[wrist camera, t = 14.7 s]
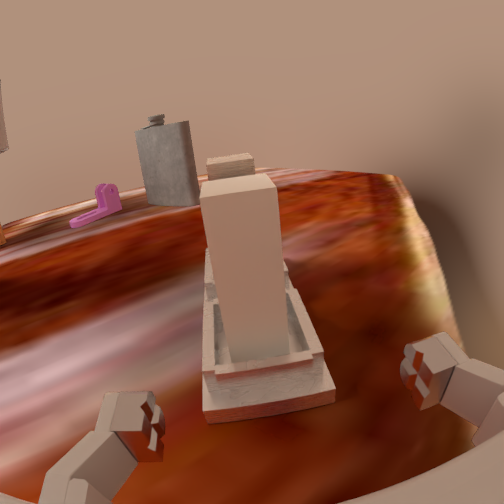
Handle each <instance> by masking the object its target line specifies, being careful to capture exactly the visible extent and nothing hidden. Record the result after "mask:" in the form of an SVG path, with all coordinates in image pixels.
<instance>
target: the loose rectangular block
mask: <svg viewBox="0 0 504 504" xmlns="http://www.w3.org/2000/svg"><path fill="white" fill-rule="evenodd" d="M199 199H200V205H201V211H202V217H203V222H204V228H205V233H206V239H207V244H208V250H209V255H210V260H211V266H212V271H213V276H214V281H215V286H216V291H217V296H218V301H219V306H220V311H221V316H222V321H223V325H224V330H225V335H226V340H227V344H228V349H229V353H230V358H231V362H232V363H237V362H244V361H250V360H257V359H263V358H269V357H275V356H280V355H286V354H290V350H289V334H288V319H287V305H286V291H285V278H284V265H283V252H282V241H281V229H280V218H279V207H278V196H277V187H276V186H275V184H274V183H273V182H272V181H271V179H270V178H269V177H268V176H267V175H266V173H262V174H255V175H247V176H240V177H233V178H226V179H219V180H213V181H206V182H202V187H201V192H200V197H199Z"/></svg>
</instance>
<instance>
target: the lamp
mask: <svg viewBox="0 0 504 504" xmlns="http://www.w3.org/2000/svg"><path fill="white" fill-rule="evenodd" d="M0 81H1V80H0ZM0 85H1V84H0ZM8 149H9V146H8V141H7V135H6V130H5V123H4V115H3V108H2V98H1V86H0V153H2V152H5V151H6V150H8ZM5 243H7V242H6V239H5V236H4V233H3V230H2V227H1V224H0V246H1V245H3V244H5Z"/></svg>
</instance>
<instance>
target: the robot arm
mask: <svg viewBox="0 0 504 504" xmlns="http://www.w3.org/2000/svg"><path fill="white" fill-rule="evenodd" d="M403 353H404V354H405V356H406V357H405V358H404V360H403V361H402V362H401V366H400V376H401V380H402V382H403V384H404V386H405V388H407V389H409V390H411V391H412V396H411V397H412V399H413V401H414V402H415V404H416V406H417V407H418V409H419V411H420V410H423V409H425V408H428V407H431V406H433V405H436V404H438V403H440V404H441V405H442V406H444V407H446V408H447V409H449V410H451V411H452V412H454V413H456V414H457V415H459V416H461V417H462V418H464V419H466V420H467V421H469V422H471V423H472V424H474V425H476V426H477V427H479V428H478V430H477V431H476V433H475V434H474V436H473V438H472V442H473V444H474V446H475V447H474V448H472V449H471V450H469V451H467V452H465V453H463V454H461V455H460V456H458V457H456V458H454V459H452V460H450V461H448V462H446V463H444V464H442V465H440V466H438V467H436V468H433V469H431V470H429V471H427V472H425V473H422V474H420V475H418V476H415V477H413V478H411V479H408V480H406V481H403V482H401V483H398V484H396V485H393V486H390V487H388V488H385V489H382V490H379V491H376V492H373V493H370V494H367V495H364V496H361V497H358V498H355V499H351V500H348V501H344V502H341V503H337V504H504V370H503V369H500V368H498V367H495V366H492V365H490V364H487V363H485V362H482V361H479V360H476V359H474V358H473V359H469V357H468V356H467V355H466V354H465V353H464V352H463V350H462V349H461V348H460V347H459V346H458V345H457V344H456V342H455V341H454V340H453V339H452V338H451V337H450V336H449V335H448V333H446V332H444V331H443V332H441V333H438V334H435V335H432V336H429V337H426V338H423V339H420V340H417V341H414V342H411V343H408V344H407V345H406V346H405V348H404V352H403ZM155 400H156V398H155V396H154V394H153V393H152V392H151V391H137V392H107V393H106V394H105V395H104V398H103V402H102V405H101V409H100V412H99V416H98V420H97V423H96V427H95V431H90V432H89V433H88V434H87V435H86V436H85V437H84V438H83V439H82V440H81V441H79V442H78V443H77V444H76V445H75V446H74V447H73V448H72V449H71V450H70V451H69V452H68V453H67V454H66V455H65V456H64V457H62V458H61V459H60V460H59V461H58V462H57V463H56V464H55V465H54V466H53V467H52V468H51V469H50V470H49V471H47V473H46V476H45V480H44V484H43V487H42V491H41V495H40V499H39V503H38V504H113V503H112V502H111V500H112V499H113V497H114V496H115V495H116V493H117V492H118V491H119V489H120V488H121V487H122V485H123V484H124V483H125V481H126V480H127V478H128V477H129V476H130V474H131V473H132V472H133V470H134V469H135V467H136V466H137V465H138V462H163V450H164V444H163V443H162V441H161V438H162V436H163V435H164V434H165V419H164V415H163V412H162V410H161V408H160V407H159V406H157V405H156V404H155ZM0 504H34V503H31V502H28V501H24V500H21V499H18V498H15V497H12V496H9V495H6V494H3V493H0Z"/></svg>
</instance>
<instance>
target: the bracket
mask: <svg viewBox="0 0 504 504" xmlns="http://www.w3.org/2000/svg"><path fill="white" fill-rule="evenodd" d="M110 189H111V190H110ZM101 190H102V192H101ZM95 195H96V199H97V203H98V208H97V209H95V210H92V211H90V212H87V213H85V214H82V215H80V216H78V217H75V218H73V219H72V220H70V221H69V223H70V226H71V228H77V227H81V226H84V225H86V224H88V223H91V222H93V221H95V220H98V219H100V218H102V217H105V216H107V215H110V214H112V213H114V212H117V211H119V210H122V206H121V202H120V197H119V193H118V189H117V187H116V186H115V185H114V184H99V185H98V186H97V187H96V189H95Z"/></svg>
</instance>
